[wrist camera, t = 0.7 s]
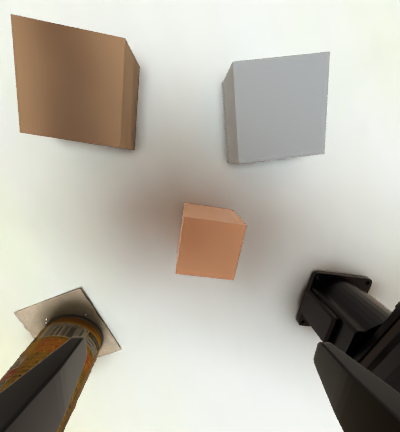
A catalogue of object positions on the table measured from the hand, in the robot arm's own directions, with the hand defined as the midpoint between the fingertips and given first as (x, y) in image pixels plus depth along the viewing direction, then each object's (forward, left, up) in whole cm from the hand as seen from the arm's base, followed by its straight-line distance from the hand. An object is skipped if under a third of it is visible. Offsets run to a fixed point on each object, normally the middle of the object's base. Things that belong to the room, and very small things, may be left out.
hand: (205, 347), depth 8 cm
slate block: (-4, -11, -12) cm, 17 cm away
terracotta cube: (-1, -1, -12) cm, 12 cm away
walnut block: (+9, -10, -12) cm, 18 cm away
